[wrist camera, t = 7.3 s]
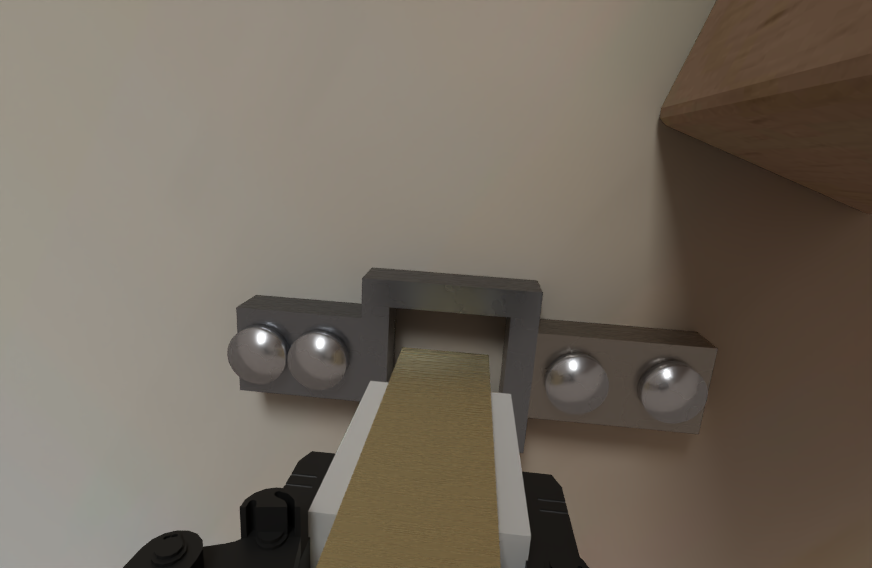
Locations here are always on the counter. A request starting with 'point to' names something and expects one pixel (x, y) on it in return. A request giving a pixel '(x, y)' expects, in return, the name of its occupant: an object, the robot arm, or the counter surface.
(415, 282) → the ball-studded metal bracket
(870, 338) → the counter surface
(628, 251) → the counter surface
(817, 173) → the wooden block
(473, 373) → the pin
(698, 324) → the counter surface
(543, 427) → the counter surface
